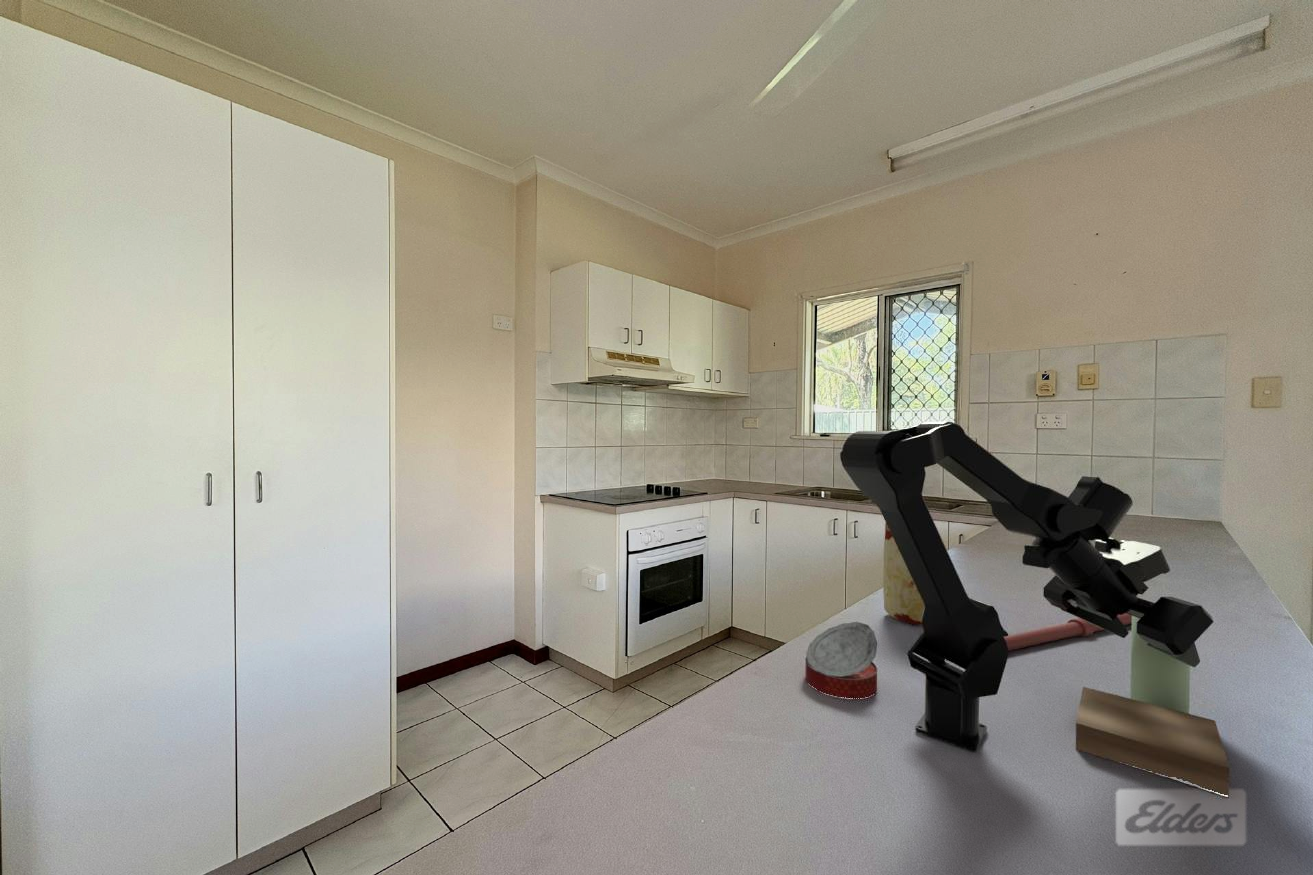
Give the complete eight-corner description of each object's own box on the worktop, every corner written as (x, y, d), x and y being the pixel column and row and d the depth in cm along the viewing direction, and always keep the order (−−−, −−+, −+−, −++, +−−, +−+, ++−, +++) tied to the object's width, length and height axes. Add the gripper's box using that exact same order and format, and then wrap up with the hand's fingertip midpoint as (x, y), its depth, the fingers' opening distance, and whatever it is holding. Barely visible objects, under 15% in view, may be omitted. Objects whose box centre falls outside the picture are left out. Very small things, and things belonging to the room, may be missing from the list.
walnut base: (1229, 797, 52) (1229, 768, 52) (1075, 748, 60) (1076, 722, 60) (1214, 745, 61) (1214, 720, 61) (1082, 709, 69) (1082, 686, 69)
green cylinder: (1191, 727, 65) (1192, 623, 65) (1130, 711, 69) (1132, 612, 69) (1187, 710, 69) (1189, 612, 69) (1130, 695, 73) (1131, 602, 73)
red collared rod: (1123, 621, 104) (1123, 605, 104) (1143, 627, 101) (1143, 610, 101) (964, 655, 87) (964, 636, 87) (982, 663, 84) (982, 643, 84)
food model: (874, 615, 105) (875, 515, 105) (896, 610, 108) (897, 513, 108) (918, 632, 96) (920, 523, 96) (941, 626, 99) (943, 520, 99)
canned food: (876, 729, 73) (892, 682, 68) (801, 712, 75) (812, 666, 70) (867, 661, 82) (881, 616, 77) (801, 648, 84) (810, 603, 79)
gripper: (1198, 536, 59) (1288, 631, 60) (1062, 511, 78) (1132, 584, 79) (1132, 606, 59) (1222, 701, 60) (1011, 564, 78) (1081, 637, 78)
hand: (1158, 648), depth 69 cm, fingers open, 9 cm apart
